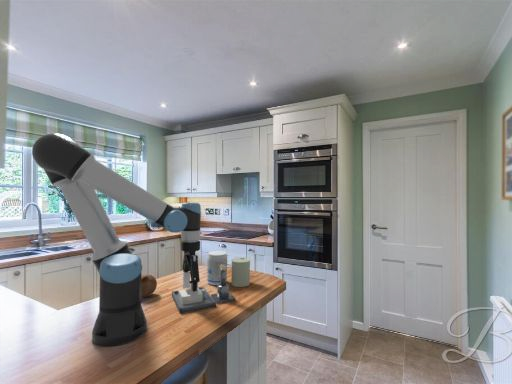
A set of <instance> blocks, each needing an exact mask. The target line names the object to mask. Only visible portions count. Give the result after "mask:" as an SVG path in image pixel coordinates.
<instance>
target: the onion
mask: <svg viewBox="0 0 512 384" xmlns="http://www.w3.org/2000/svg"><path fill="white" fill-rule="evenodd" d="M157 285H158V281H157V278H156V277H155V276H154V275H152V274H143V275H142V274H141V298H148V297H150V296H151V295H152V294H154V292H155V291H156V289H157Z"/></svg>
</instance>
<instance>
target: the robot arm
mask: <svg viewBox="0 0 512 384" xmlns="http://www.w3.org/2000/svg"><path fill="white" fill-rule="evenodd" d="M31 154H32V158H33V160H34V163H36V165H38V167H40V168H42V170H43V171H44V172H45V174H46V176H47V179H48V181H49V182H50V184H51V185H52V186H53V187H57V188H58V189H60V190H61V192H62V194H63V196H64V198H65V200H66V202H67V204H68V206H69V208H70V209H71V211H72V214H73V215H74V218H75V220H76V221H77V224H78V225H79V227H80V229H81V230H82V232H83V234H84V236H85V238H86V240H87V241H88V243H89V246H90V248H91V249H92V251H93V254H92V257H91V261H92V263H93V265H94V266H95V269H96V271H97V273H98V275H99V303H98V304H99V306H98V307H99V311H98V314H97V317H96V319H95V322H94V326H93V328H92V332H91V339H92V340H91V341H92V343H93V344H95V345H98V346H103V347H114V346H120V345H124V344H128V343H130V342H133V341H134V340H137V339H139V338H140V337H142V336H143V335H144V334H145V333H146V331H147V326H148V324H147V323H148V321H147V317H146V315H145V312H144V309H143V306H142V297H141V276H142V271H143V264H142V259H141V257H140V256H138V255H136V254H132V251H131V249H130V248H129V246H128V244H127V242H126V241H122V240H120V238H119V236H118V235H117V234H118V233H117V232H116V230H115V228H114V226H113V225H112V224H113V223H111V220H110V218H109V216H108V214H107V212H106V210H105V208H104V206H103V204H102V202H101V200H100V198H99V196H98V193H96V191H97V192H99V193H100V194H102V195H104V196H106V197H107V198H110V199H111V200H113V201H115V202H116V203H118V204H120V205H122V206H124V207H126V208H128V209H129V210H131V211H133V212H134V213H136V214H139V215H140V216H142V217H143V218H145V219H147V220H149V226H150V227H151V228H155V229H156V228H157V229H160V228H163V229H165V230H167V231H168V232H170V233H175V234H177V233H180V232H181V234H180V235H181V237H180V238H181V239H180V240H181V242H180V251H182V252H183V260H182V267H181V269H182V272H183V273H182V274H183V277H182V280H183V281H182V289H190V300H193V299H198V287H199V283H200V281H201V279H200V270H199V268H200V267H199V256H198V255H196V252H198V251H200V250H201V241H200V240H201V235H202V231H201V220H202V219H201V215H202V211H201V210H202V208H201V204H200V203H199V202H183V203H181V207H173V206H171V205H170V204H168V203H167V202H166V201H164V200H162V199H160V198H159V197H157V196H155V195H153V194H152V193H151V192H149V191H148V190H145V189H144V188H142V187H140V186H139V185H137V184H136V183H135V182H133V181H130V180H129V179H128V178H125V177H124V176H122V175H121V174H119V173H118V172H116V171H114V170H113V169H111V168H109V167H108V166H106V165H104V164H103V163H101V162H100V161H98V160H97V159H95V155H94V154H93V153H91V152H90V151H88V150H87V149H85V148H83V146H82V145H80V144H78V143H77V142H76V141H75V140H73V139H72V138H71V137H69V136H67V135H65V134H61V133H49V134H44V135H42V136H40V137H39V138H37V140H35V141H34V144H33V145H32V149H31Z"/></svg>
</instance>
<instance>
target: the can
mask: <svg viewBox="0 0 512 384" xmlns="http://www.w3.org/2000/svg"><path fill="white" fill-rule="evenodd" d="M250 268H251V259H250V258H247V257H235V258H232V259H231V282H230V284H231V286H233V287H237V288H241V287H243V288H244V287H247V286H250V285H251V275H250V274H251V270H250Z"/></svg>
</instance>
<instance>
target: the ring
mask: <svg viewBox="0 0 512 384" xmlns="http://www.w3.org/2000/svg"><path fill="white" fill-rule="evenodd" d="M204 289H205V288H204ZM204 289H200V290H199V288H198V299H193V300H190V288H182V289H178V290H177V291H178V298H179V300H180V302H181V304H182V305H184V304H190V303H196V302H201V301H203V298H205V290H206V289H205V290H204Z"/></svg>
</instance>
